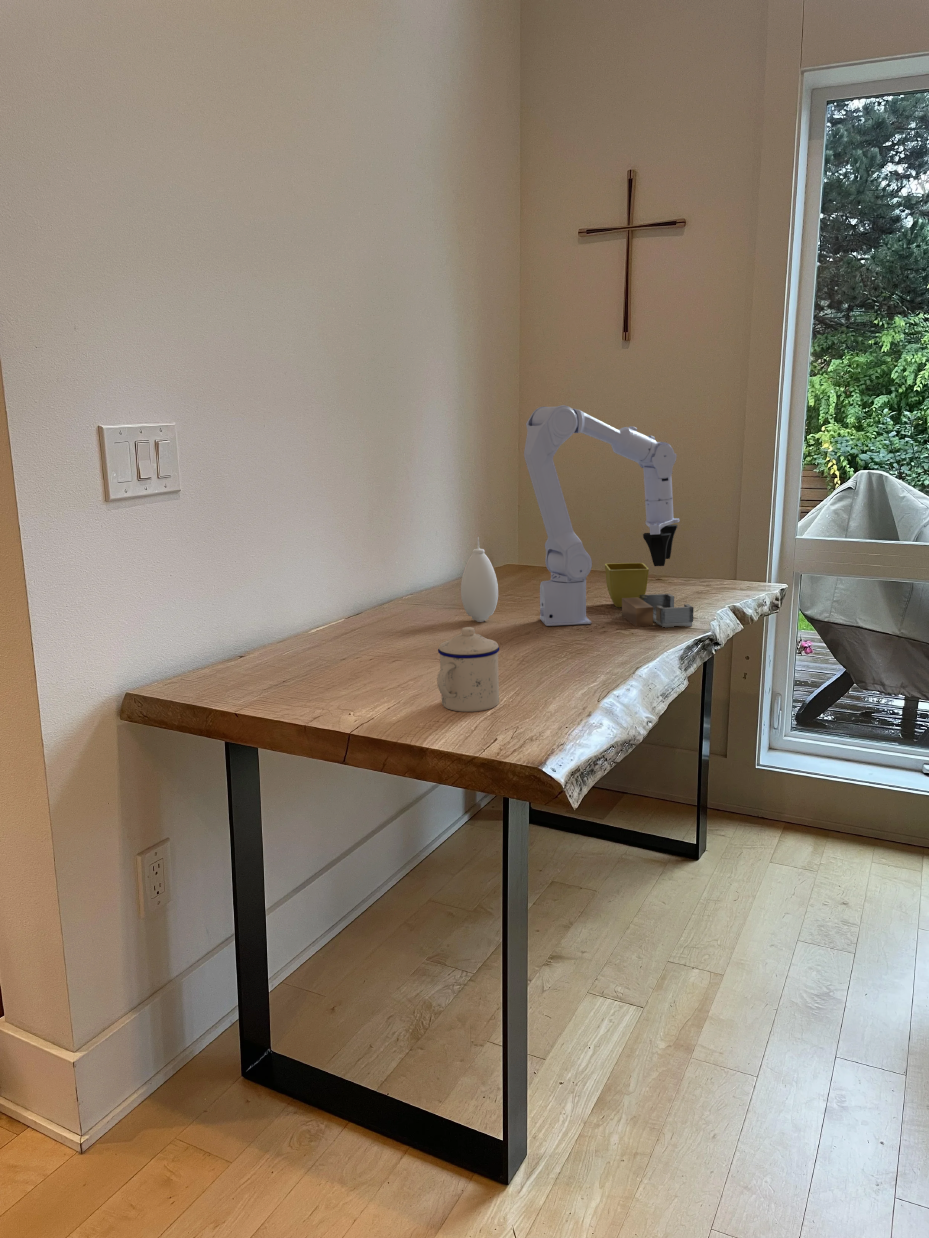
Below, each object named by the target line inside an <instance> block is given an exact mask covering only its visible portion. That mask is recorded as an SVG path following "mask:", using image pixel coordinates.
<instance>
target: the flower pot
mask: <svg viewBox="0 0 929 1238" xmlns="http://www.w3.org/2000/svg"><path fill="white" fill-rule="evenodd" d="M649 568H650V567H647V565H646V564H645V563H644V562H619V563H617V562H616V563H613V562H612V563H604V572H605V581H606V583H605V584H606V587H607V591H608V595H609V597H610V600H611V601H612V603H613V604H614V606H615V607H616V608H622V598H639V597H640V595H646V592H647V587H648V581H649V572H650V569H649Z"/></svg>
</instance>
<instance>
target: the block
mask: <svg viewBox="0 0 929 1238" xmlns="http://www.w3.org/2000/svg"><path fill="white" fill-rule="evenodd" d="M621 616H622V617H623V618H624V617H625V618H624V619H626V620H627V621H628V620H629V623H631V624H632V625H634V626H635V627H651V625H653V626H654V621H653V607H652V606H651V605H649V604H647V603H646V602H644V601H643V600H641V599H640V598H622V607H621ZM649 625H650V626H649Z"/></svg>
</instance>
